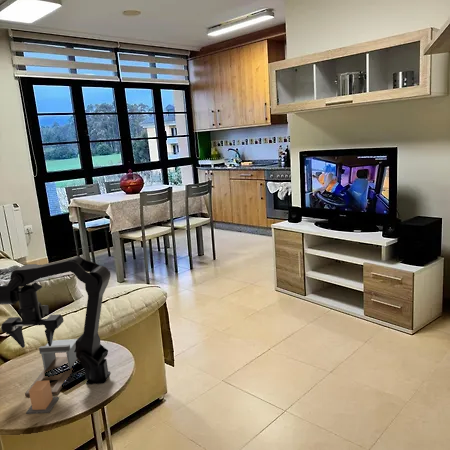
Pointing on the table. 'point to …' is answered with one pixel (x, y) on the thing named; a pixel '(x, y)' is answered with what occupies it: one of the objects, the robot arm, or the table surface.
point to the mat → (47, 410)
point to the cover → (58, 351)
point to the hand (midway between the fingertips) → (37, 346)
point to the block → (40, 395)
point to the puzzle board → (60, 377)
